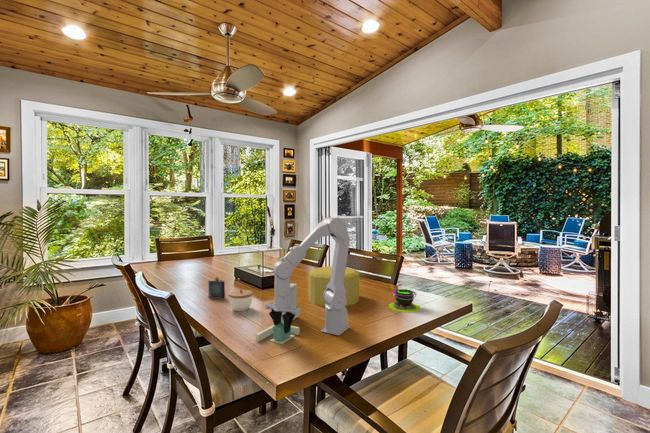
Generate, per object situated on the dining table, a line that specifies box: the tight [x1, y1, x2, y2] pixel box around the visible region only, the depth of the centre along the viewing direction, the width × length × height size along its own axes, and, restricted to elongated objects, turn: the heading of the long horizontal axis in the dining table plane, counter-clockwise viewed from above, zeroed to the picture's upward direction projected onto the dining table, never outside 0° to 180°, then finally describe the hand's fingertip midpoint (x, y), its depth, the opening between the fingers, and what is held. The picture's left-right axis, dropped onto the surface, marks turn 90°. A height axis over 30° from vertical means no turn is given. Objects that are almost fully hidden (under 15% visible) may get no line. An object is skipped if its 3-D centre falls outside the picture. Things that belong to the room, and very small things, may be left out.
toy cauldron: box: [388, 283, 421, 313], centre depth 154 cm, size 15×15×11 cm
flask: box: [207, 276, 226, 299], centre depth 170 cm, size 9×3×11 cm, turn 76°
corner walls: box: [255, 324, 300, 343], centre depth 119 cm, size 13×10×2 cm
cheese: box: [308, 265, 360, 307], centre depth 167 cm, size 26×26×15 cm
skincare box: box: [281, 282, 299, 322], centre depth 137 cm, size 8×6×15 cm
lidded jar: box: [228, 288, 254, 312], centre depth 151 cm, size 11×11×9 cm
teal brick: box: [272, 321, 291, 341], centre depth 118 cm, size 6×4×4 cm, turn 150°
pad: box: [269, 334, 296, 345], centre depth 118 cm, size 8×6×1 cm
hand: (282, 331), depth 118 cm, fingers closed on teal brick, 3 cm apart
